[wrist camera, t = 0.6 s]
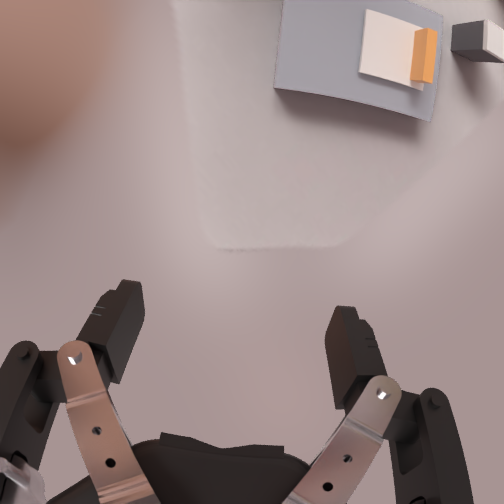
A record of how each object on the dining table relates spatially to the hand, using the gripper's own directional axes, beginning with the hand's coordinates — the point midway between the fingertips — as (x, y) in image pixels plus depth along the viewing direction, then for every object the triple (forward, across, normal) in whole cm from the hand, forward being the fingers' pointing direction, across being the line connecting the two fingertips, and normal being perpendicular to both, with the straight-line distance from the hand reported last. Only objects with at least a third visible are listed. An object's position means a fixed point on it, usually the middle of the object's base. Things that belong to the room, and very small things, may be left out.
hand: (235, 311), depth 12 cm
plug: (+27, -25, -22) cm, 43 cm away
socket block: (+27, -10, -16) cm, 33 cm away
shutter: (+23, -13, -16) cm, 30 cm away
